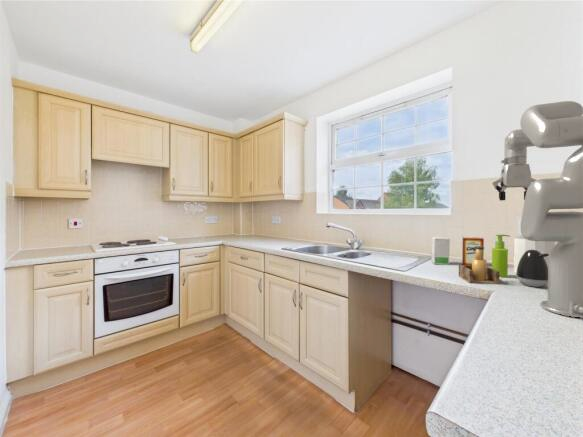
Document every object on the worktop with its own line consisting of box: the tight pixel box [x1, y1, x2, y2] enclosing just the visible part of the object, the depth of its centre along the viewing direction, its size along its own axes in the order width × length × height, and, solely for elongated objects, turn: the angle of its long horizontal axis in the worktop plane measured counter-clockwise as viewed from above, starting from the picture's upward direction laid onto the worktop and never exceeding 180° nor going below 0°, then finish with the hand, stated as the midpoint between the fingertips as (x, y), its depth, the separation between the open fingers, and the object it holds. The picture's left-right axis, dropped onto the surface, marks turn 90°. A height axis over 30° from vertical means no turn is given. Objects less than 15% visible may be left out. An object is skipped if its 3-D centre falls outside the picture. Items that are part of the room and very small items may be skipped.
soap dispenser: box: [491, 233, 511, 278], centre depth 123 cm, size 6×7×20 cm
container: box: [513, 236, 556, 275], centre depth 125 cm, size 14×14×18 cm
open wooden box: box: [458, 264, 500, 285], centre depth 117 cm, size 11×11×6 cm
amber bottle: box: [472, 246, 487, 281], centre depth 116 cm, size 5×5×15 cm
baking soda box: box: [461, 236, 485, 265], centre depth 148 cm, size 10×6×16 cm
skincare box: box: [431, 236, 451, 266], centre depth 152 cm, size 8×7×16 cm
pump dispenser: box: [516, 250, 549, 288], centre depth 108 cm, size 10×10×15 cm
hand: (514, 200), depth 116 cm, fingers open, 9 cm apart
